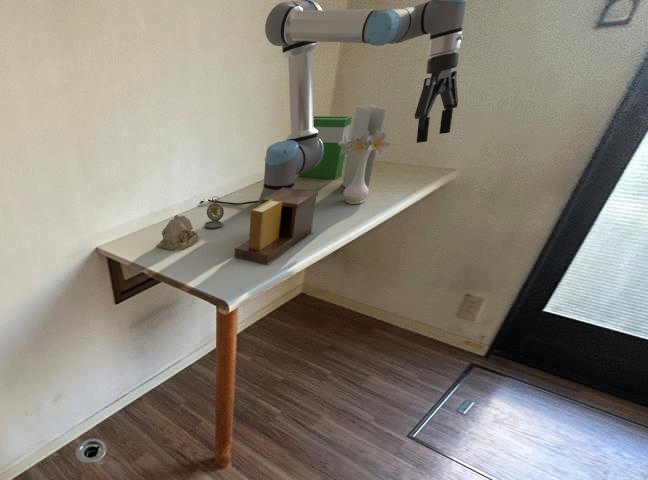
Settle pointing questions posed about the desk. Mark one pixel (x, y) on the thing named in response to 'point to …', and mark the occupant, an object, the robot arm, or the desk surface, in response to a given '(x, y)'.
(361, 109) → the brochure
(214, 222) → the pocket watch
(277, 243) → the step shelf
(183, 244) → the ceramic model
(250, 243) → the ochre book
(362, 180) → the flower vase
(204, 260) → the desk surface
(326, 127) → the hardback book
